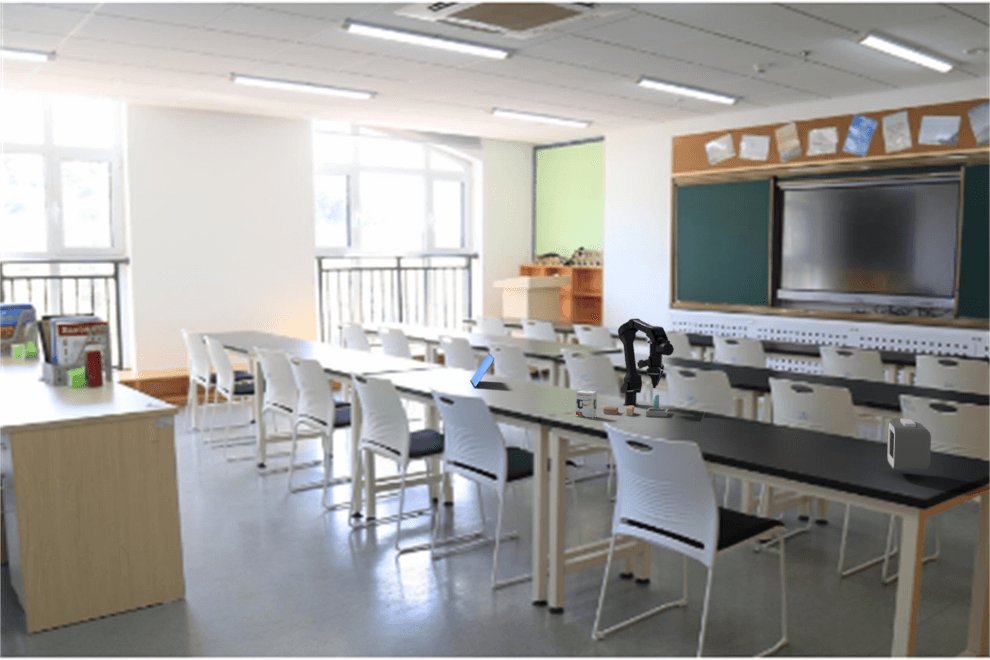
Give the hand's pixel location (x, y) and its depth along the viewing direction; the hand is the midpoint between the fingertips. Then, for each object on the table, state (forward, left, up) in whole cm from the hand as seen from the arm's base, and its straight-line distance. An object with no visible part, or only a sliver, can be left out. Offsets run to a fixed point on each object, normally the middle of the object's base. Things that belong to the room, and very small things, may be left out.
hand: (655, 386), depth 407 cm
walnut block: (+10, -19, -12) cm, 25 cm away
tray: (+9, +2, -12) cm, 15 cm away
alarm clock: (+91, +94, -12) cm, 131 cm away
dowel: (0, 0, -12) cm, 12 cm away
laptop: (-56, -113, -13) cm, 127 cm away
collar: (0, 0, -12) cm, 12 cm away
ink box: (+23, -29, -12) cm, 39 cm away
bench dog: (+10, -10, -12) cm, 19 cm away
